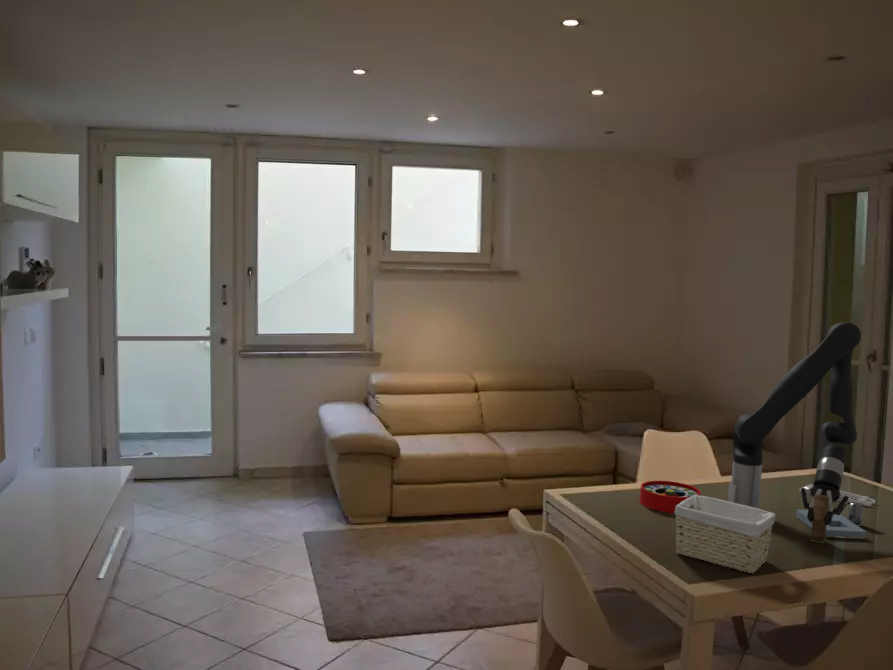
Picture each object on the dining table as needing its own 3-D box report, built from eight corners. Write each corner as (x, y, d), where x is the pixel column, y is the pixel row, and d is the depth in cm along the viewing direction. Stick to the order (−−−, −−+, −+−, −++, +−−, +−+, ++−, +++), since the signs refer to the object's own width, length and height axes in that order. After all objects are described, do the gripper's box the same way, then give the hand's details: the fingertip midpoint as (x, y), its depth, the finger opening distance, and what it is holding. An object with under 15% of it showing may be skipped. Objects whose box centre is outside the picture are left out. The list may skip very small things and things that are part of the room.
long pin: (814, 543, 236) (818, 498, 235) (808, 538, 240) (812, 494, 239) (827, 543, 236) (831, 498, 235) (821, 539, 240) (825, 495, 239)
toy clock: (645, 495, 260) (636, 478, 280) (644, 512, 261) (635, 494, 280) (707, 499, 258) (693, 482, 278) (705, 516, 259) (692, 498, 279)
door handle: (868, 510, 274) (796, 493, 292) (877, 505, 281) (806, 488, 299) (869, 502, 274) (796, 486, 291) (878, 497, 281) (806, 481, 298)
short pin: (851, 526, 254) (853, 505, 254) (845, 522, 258) (847, 501, 258) (863, 526, 254) (865, 505, 254) (857, 522, 258) (859, 502, 258)
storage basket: (773, 562, 220) (777, 511, 219) (755, 578, 207) (759, 525, 206) (691, 540, 235) (694, 492, 233) (669, 555, 222) (673, 504, 221)
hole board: (823, 537, 242) (824, 529, 242) (795, 516, 262) (796, 509, 261) (865, 539, 242) (866, 531, 242) (834, 518, 262) (834, 511, 261)
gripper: (803, 464, 246) (792, 510, 238) (853, 472, 238) (843, 521, 230) (805, 477, 251) (794, 523, 243) (854, 486, 243) (845, 534, 234)
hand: (818, 522), depth 236 cm, fingers closed on long pin, 4 cm apart
